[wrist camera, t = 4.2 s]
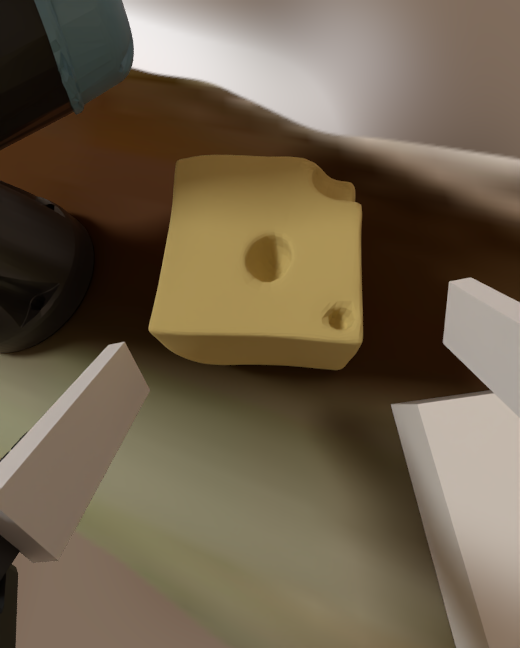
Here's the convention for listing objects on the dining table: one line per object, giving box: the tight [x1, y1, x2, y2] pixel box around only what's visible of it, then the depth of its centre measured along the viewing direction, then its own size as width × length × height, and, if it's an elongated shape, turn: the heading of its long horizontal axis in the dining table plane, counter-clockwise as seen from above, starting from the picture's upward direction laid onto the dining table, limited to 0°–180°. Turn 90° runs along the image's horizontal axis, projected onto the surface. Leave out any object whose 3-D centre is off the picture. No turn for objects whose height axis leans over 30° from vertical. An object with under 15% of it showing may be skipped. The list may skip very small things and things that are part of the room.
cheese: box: [148, 155, 363, 370], centre depth 18 cm, size 10×11×10 cm
